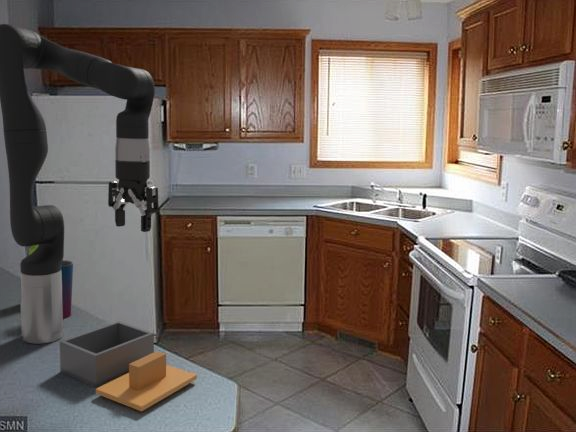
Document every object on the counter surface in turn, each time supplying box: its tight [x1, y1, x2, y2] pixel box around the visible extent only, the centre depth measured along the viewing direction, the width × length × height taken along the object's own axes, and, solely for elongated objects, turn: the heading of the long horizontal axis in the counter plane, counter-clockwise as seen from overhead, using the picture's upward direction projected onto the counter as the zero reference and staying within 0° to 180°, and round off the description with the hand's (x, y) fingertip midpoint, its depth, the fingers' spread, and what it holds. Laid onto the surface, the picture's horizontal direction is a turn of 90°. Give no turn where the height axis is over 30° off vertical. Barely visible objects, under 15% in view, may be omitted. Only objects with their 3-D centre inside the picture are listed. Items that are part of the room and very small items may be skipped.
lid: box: [95, 350, 198, 412], centre depth 116 cm, size 12×16×7 cm
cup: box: [61, 259, 74, 319], centre depth 155 cm, size 7×7×15 cm
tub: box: [59, 320, 155, 389], centre depth 126 cm, size 12×16×7 cm
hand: (132, 228), depth 130 cm, fingers open, 8 cm apart
